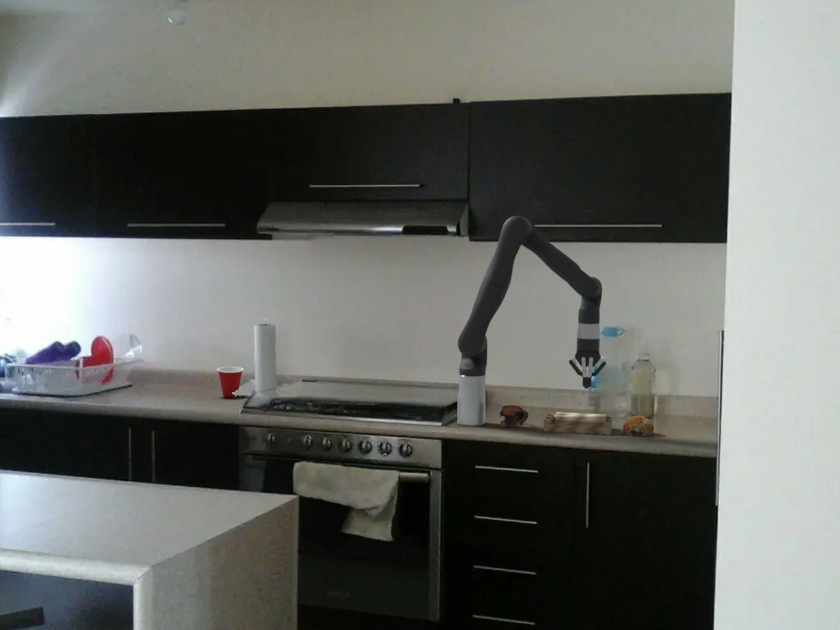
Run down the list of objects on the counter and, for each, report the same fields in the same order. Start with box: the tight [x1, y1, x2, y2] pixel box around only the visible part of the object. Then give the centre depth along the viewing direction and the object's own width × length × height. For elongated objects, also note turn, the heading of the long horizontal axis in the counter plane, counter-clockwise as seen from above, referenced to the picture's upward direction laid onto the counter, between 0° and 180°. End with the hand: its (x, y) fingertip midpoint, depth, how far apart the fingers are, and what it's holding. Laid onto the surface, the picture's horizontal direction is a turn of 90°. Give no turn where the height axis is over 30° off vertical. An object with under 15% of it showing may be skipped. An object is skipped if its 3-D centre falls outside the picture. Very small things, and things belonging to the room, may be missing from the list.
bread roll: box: [622, 415, 655, 437], centre depth 305 cm, size 10×10×8 cm
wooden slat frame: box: [543, 411, 613, 436], centre depth 311 cm, size 22×12×5 cm, turn 75°
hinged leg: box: [550, 414, 611, 422], centre depth 308 cm, size 20×3×2 cm, turn 75°
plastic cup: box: [216, 366, 244, 398], centre depth 378 cm, size 11×11×12 cm
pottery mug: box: [499, 404, 529, 429], centre depth 318 cm, size 12×10×8 cm
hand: (586, 388), depth 307 cm, fingers closed
